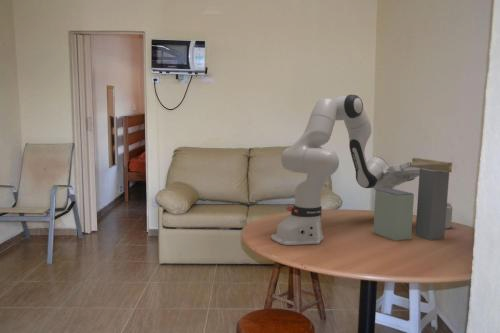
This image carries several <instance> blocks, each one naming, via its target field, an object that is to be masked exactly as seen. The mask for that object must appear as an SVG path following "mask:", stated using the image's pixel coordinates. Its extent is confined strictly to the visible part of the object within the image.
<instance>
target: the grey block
mask: <svg viewBox="0 0 500 333" xmlns="http://www.w3.org/2000/svg"><path fill="white" fill-rule="evenodd" d="M414 198H415V193H412V192H407V191H404V190H400V189H395V188H389V189H376V190H375V195H374V214H373V229H372V230H373V231H372V232H373V234H375V235H378V236H381V237H385V238H387V239H390V240H393V241H395V242H396V241H403V240H411V239H412V229H413V228H412V227H413V214H414Z"/></svg>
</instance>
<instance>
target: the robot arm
mask: <svg viewBox="0 0 500 333" xmlns="http://www.w3.org/2000/svg"><path fill="white" fill-rule="evenodd" d="M336 121H343V122H344V126H345V128H346V130H347V134H348V142H349V152H350V156H351V159H352V163H353V166H354V171H355V180H356V182H357V184H358V185H359V186H360V187H361V188H364V189H372V188H373V190H375V191H376V189H389V188H392V189H395V187H396V186H399V185H402V184H404V183H406V182H410V181H414V180H415V179H416V178H417V177H419V173H420V169H423V168H417V167H412V161H408V162H406V163H402V164H399V163H398V164H393V165H391V166H389V164H388V163H387V162H386V161H385V159H383V157H380V156H379V157H378V156H372V157H371V158H370V159H369V160H368V161H367V160H366V155H365V150H366V145H367V142H368V141H369V139H370V136H371V134H372V125H371V122H370V119H369V116H368V115H367V113H366V111H365V108H364V104H363V100H362V98H360V97H359V96H358V95H356V94H348V95H336V96H332V97H329V98H328V97H324V98H320V99H319V100H318V101H317V102H316V103H315V105H314V107H313V109H312V112H310V116H309V119H308V122H307V124H306V128H305V130H304V131H303V134H302V135H301V136H300V138H299V139H297V141H296V142H294V144H291V145H290V146H289V147H287V148H285V149H284V150H283V151H282V154H281V156H280V163H281V166H282V167H283V168H284V169H285V170H287V171H290V172H293V173H299V174H307V175H306V179H305V180H304V181H302V182H299V184H297V185H296V187H295V190H294V205H293V206H290V205H287V207H286V211H288V212H290V214H289V215H288V216H286V217H285V218H284V219H283V220H282V221H281V222H279V223H278V224H277V228H276V233H274V234H271V235H270V236H271V237H270V238H271V240H272V241H274V242H275V243H278V244H281V245H283V246H297V245H301V246H302V245H312V244H313V245H317V244H321V242H322V241H323V240H324V235H323V231H322V223H321V222H322V221H321V220H322V219H321V218H322V210H323V208H322V204H321V203H322V192H323V188H324V185H325V183H326V181H327V180H328V178H329V177H331V176H332V175H333V174H335V173H336V172H337V170H338V168H339V167H340V166H339V164H340V158H339V156H338V154H337V153H336V152H335V151H334V150H330V149H327V148H320V147H321V146H323V145H326V144H327V143H328V142H330V139H331V136H332V133H333V130H334V127H335V123H336Z"/></svg>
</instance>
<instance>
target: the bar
mask: <svg viewBox="0 0 500 333" xmlns="http://www.w3.org/2000/svg"><path fill="white" fill-rule="evenodd" d="M411 164H412V167H417V168H423V169H430V170H436V171H442V172H449V173H453V171H452V170H453V162H451V161H442V160H435V159H428V158H420V157H419V158H418V157H412V160H411Z"/></svg>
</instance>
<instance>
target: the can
mask: <svg viewBox="0 0 500 333" xmlns="http://www.w3.org/2000/svg"><path fill="white" fill-rule="evenodd" d="M452 214H453V206H452V203H450V202H447V209H446V222H445V230H448V229H450V228H451V227H452V219H453V218H452V217H453V215H452Z"/></svg>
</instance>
